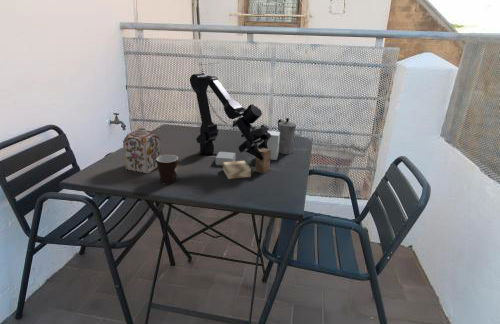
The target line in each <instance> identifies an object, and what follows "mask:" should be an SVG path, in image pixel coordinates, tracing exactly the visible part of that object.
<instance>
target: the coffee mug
mask: <svg viewBox="0 0 500 324" xmlns="http://www.w3.org/2000/svg"><path fill="white" fill-rule="evenodd" d="M156 161H157V165H158V167H157V168H158V174H159V181H160V183H161V182H162V183H161V184H163V183H165V184H164V185H172V184H175V183H176V182H177V180H178V177H177V176H178V165H179V164H178V163H179V157H178V156H177V155H175V154H162V156H159V157H157V158H156ZM174 182H175V183H174ZM171 183H172V184H171Z"/></svg>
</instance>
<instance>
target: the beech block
mask: <svg viewBox="0 0 500 324" xmlns="http://www.w3.org/2000/svg"><path fill="white" fill-rule="evenodd" d="M222 171H223V172H224V174H225V176H226V178H227V179H228V180H232V179H241V178H251V176H252V169H251V167H250V165H249V164H248V163H247V162H246V161H245V160H235V161H234V162H223V165H222Z"/></svg>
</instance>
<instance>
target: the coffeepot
mask: <svg viewBox="0 0 500 324" xmlns="http://www.w3.org/2000/svg"><path fill="white" fill-rule="evenodd" d="M296 128H297V124H296V122H292V121H290V118H289V117H286V118H285V121H284V119H278V121H277V130H278V131H277V132H280V139H279V152H278V154H283V155H291V154H293V153H294V151H295V150H294V140H293V138H294V136H295V132H296Z"/></svg>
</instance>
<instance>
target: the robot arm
mask: <svg viewBox="0 0 500 324" xmlns="http://www.w3.org/2000/svg"><path fill="white" fill-rule="evenodd" d="M189 84H190V86H191V89H192V90H193V91H194V93H195V94H196V98H197V104H198V110H199V115H200V120H201V125H200V128H199V135H198V136H197V137H196V138H195V139H196V140H195V141H196V143H198V144H199V155H200V156H213V155H214V153H215V145H214V141H216V138H217V137H218V134H219V130H218V124H216V123H214V122H213V120H212V115H211V109H210V105H209V99H208V94H207V93H208V92H207V91H208V88H210V89H211V91H212V92H213V93H214V94H215V96H216V98H217V99H218V100H219V101H220V103H222V106H223V110H224V113H225V115H226V117H227V118H228V119H229V120H233V121H232V127H233V128H234V127H237V128H238V130H239V132H240V133H241V135H240V136H241V138H244V140H245V141H243V142H242V143H241V144H240V145H239V146H238V151H239V153H240V154H242V153H243V152H245V153H248V154H250V155H252V156H253V157H255V158H256V157H257V158H259V159H260V160H263V157H262V155H261V154H260V152H259V150H258V149H260V148H266V149H268V146H267V142H268V140H269V138H271V137H272V136H271V135H270V133H268V131H269V129H270V128H269V127H268V125H267V124H266V123H263V124H261V125H260V127H258V128H257V127H256V126H253V125H252V124H254V123H255V122H257V120H259V118H261V117H262V115H263V113H262V110H261V109H260V108H259V107H258V106H257V105H254V104H253V103H251V104H249V105H248V106H247V108H244V107H243V105H241V104H240V103H239V102H238V101H236V100H234V99H233V98H232V96H230V94H229V92H227V90H226V89H225V87H224V86H223V84H222V83H221V82H220V81H219V78H218V76H215V75H206V74H205V73H202V72H201V73H195V74H191V76H190V78H189ZM235 119H236V120H235Z"/></svg>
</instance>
